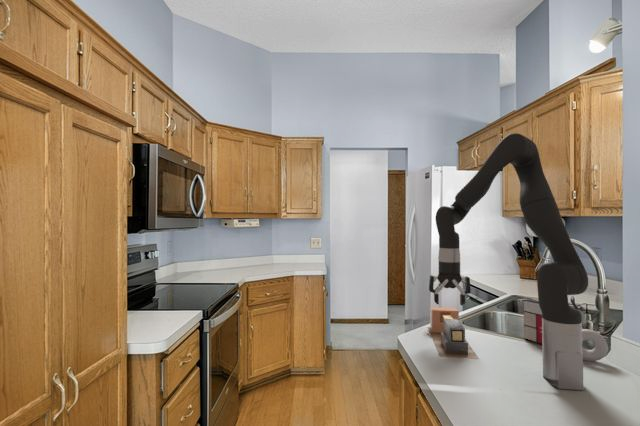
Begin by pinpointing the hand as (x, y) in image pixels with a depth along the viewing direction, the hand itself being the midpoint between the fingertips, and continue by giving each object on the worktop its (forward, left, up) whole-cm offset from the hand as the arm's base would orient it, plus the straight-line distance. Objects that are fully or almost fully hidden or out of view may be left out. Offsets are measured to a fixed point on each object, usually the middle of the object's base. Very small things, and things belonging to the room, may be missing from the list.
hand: (449, 304), depth 133 cm
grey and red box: (+6, -33, -14) cm, 36 cm away
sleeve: (-9, 0, -13) cm, 16 cm away
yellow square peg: (-4, 0, -9) cm, 10 cm away
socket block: (+11, 0, -13) cm, 17 cm away
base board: (-1, 0, -14) cm, 14 cm away
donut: (-10, -41, -14) cm, 44 cm away
